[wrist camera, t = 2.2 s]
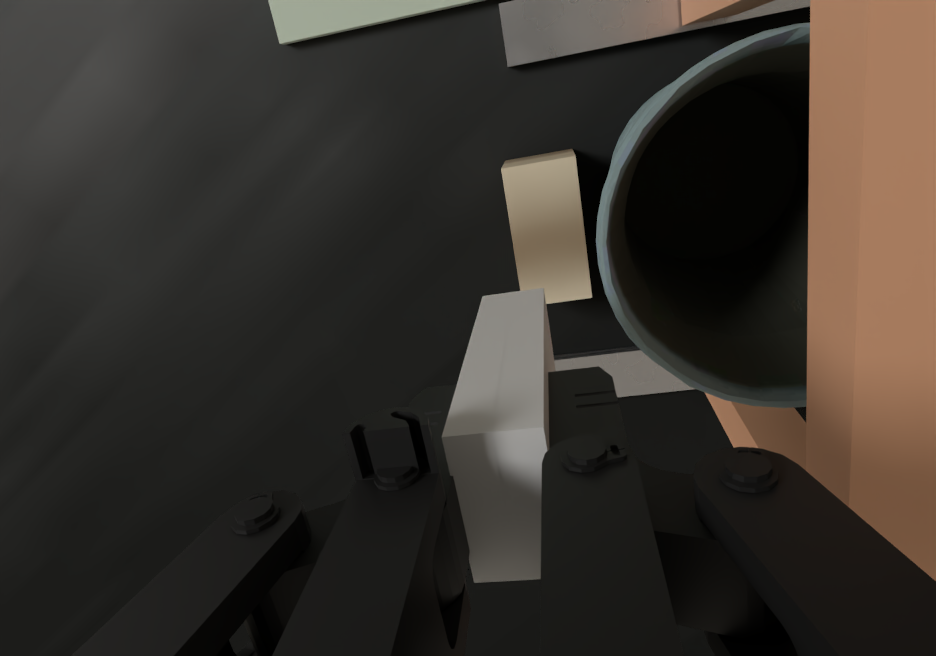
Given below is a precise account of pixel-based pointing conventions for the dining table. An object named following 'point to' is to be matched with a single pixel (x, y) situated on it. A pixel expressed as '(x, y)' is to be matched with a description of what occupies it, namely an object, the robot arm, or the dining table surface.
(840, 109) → the wooden arch
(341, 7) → the coaster
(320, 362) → the dining table surface
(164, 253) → the dining table surface
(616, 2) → the rails
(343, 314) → the dining table surface
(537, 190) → the beige rectangular block
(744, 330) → the grey open tube
